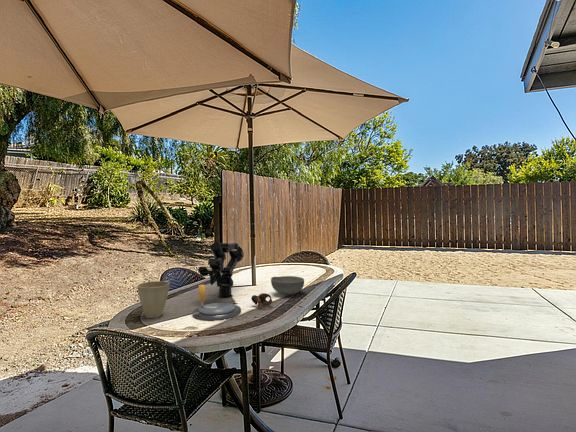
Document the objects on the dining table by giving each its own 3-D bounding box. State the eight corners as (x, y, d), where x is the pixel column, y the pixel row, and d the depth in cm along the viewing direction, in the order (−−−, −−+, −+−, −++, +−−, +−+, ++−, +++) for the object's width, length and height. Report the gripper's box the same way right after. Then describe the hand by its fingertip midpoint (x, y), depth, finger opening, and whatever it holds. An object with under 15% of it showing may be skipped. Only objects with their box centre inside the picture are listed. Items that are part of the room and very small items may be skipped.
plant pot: (151, 322, 165) (150, 289, 164) (131, 317, 172) (130, 285, 172) (176, 314, 177) (175, 282, 177) (157, 309, 185) (156, 279, 185)
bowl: (291, 300, 200) (291, 283, 199) (264, 295, 212) (264, 279, 212) (310, 293, 216) (310, 277, 215) (284, 288, 228) (284, 273, 228)
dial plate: (223, 303, 195) (223, 300, 195) (250, 312, 178) (250, 309, 178) (183, 313, 178) (183, 310, 178) (208, 324, 161) (208, 320, 161)
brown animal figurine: (273, 305, 193) (275, 294, 189) (268, 317, 185) (269, 306, 181) (253, 298, 195) (254, 287, 191) (246, 310, 187) (247, 299, 183)
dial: (239, 305, 185) (239, 282, 185) (227, 316, 167) (226, 290, 167) (206, 304, 189) (206, 281, 188) (191, 314, 171) (190, 289, 171)
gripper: (199, 252, 197) (190, 275, 187) (230, 252, 194) (223, 276, 183) (205, 264, 205) (197, 287, 195) (235, 264, 202) (229, 288, 191)
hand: (211, 284), depth 191 cm, fingers closed
